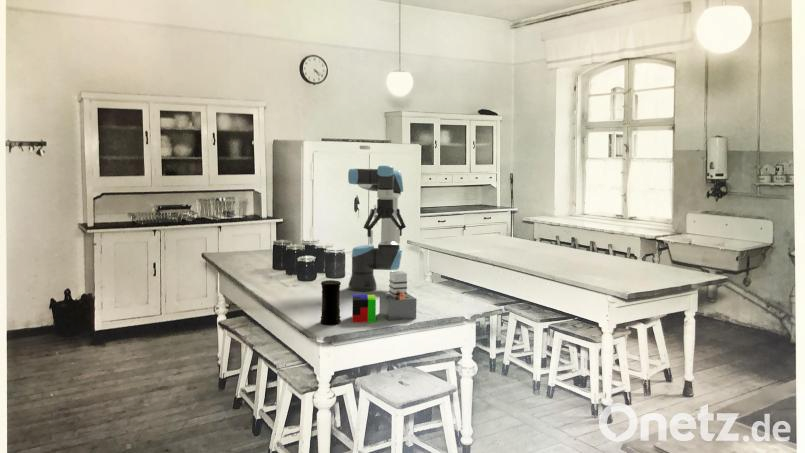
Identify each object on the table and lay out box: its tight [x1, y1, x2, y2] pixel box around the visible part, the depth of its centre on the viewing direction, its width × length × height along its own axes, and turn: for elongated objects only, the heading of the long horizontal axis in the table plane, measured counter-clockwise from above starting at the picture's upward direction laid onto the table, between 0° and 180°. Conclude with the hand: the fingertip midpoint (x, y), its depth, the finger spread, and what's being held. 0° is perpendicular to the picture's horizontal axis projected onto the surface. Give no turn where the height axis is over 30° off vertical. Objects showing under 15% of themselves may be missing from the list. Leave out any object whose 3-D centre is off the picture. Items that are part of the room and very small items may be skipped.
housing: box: [378, 292, 418, 322], centre depth 298 cm, size 13×13×12 cm
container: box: [319, 279, 342, 326], centre depth 285 cm, size 9×9×18 cm
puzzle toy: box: [351, 294, 377, 323], centre depth 292 cm, size 10×10×10 cm
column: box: [388, 270, 408, 299], centre depth 298 cm, size 6×6×20 cm
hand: (384, 243), depth 311 cm, fingers open, 13 cm apart
